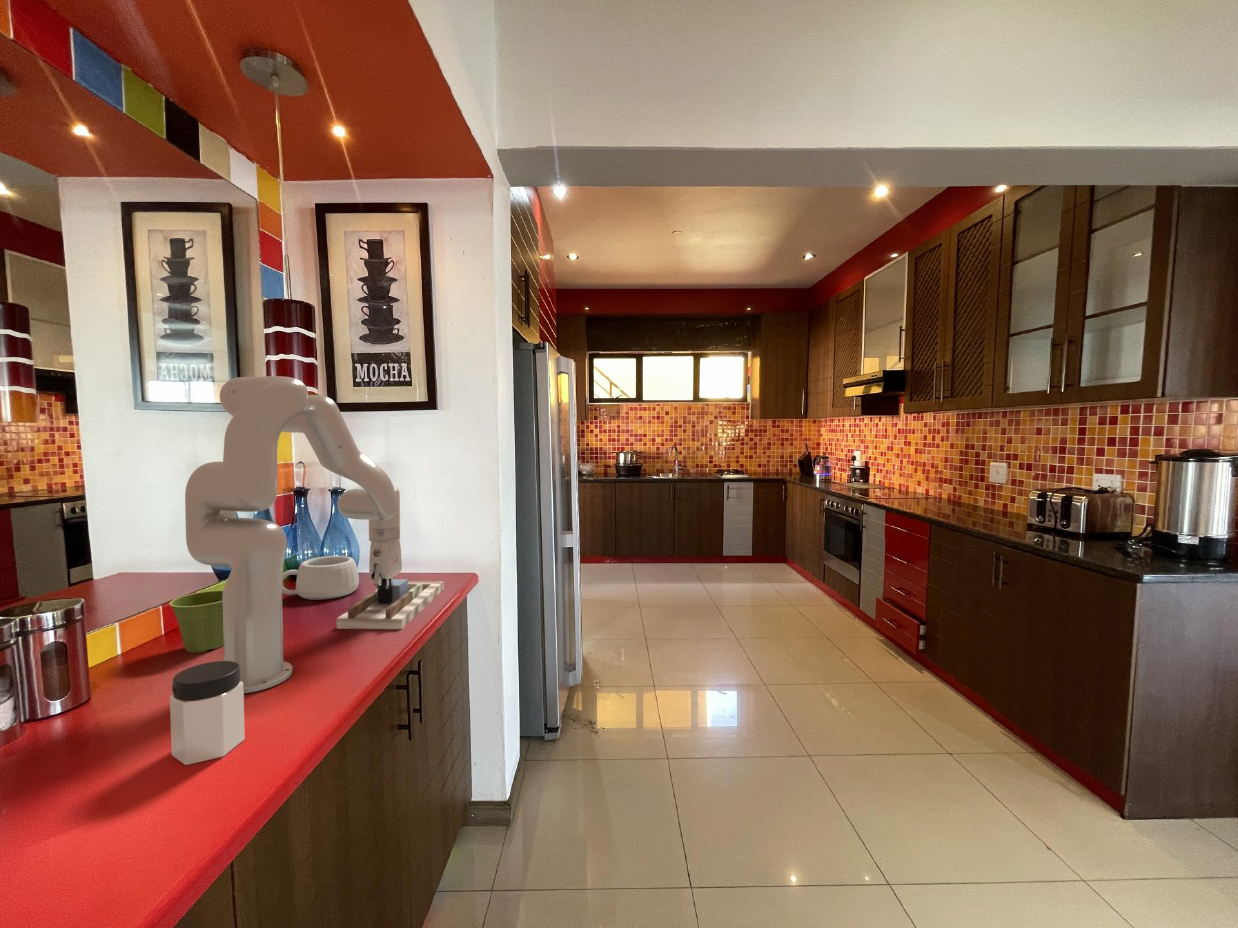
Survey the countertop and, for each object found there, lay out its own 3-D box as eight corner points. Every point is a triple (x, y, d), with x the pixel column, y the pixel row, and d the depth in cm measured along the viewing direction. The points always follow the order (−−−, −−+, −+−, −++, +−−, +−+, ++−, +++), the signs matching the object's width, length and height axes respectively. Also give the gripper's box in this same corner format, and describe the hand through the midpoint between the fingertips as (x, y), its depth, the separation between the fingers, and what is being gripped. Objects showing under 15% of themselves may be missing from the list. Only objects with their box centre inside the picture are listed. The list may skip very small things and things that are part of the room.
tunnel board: (401, 628, 132) (401, 609, 132) (336, 628, 132) (336, 608, 132) (443, 589, 166) (443, 573, 166) (392, 588, 166) (391, 573, 166)
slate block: (399, 603, 144) (399, 585, 144) (377, 603, 144) (377, 585, 144) (408, 596, 150) (408, 579, 150) (386, 596, 150) (386, 579, 150)
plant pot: (178, 642, 122) (177, 593, 122) (241, 633, 128) (240, 587, 127) (163, 661, 112) (161, 609, 111) (232, 652, 117) (231, 601, 117)
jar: (205, 731, 86) (203, 658, 86) (255, 732, 86) (253, 659, 86) (157, 765, 77) (154, 684, 77) (212, 766, 77) (210, 685, 77)
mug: (351, 582, 173) (351, 552, 172) (365, 595, 160) (365, 562, 159) (273, 594, 159) (272, 561, 158) (281, 609, 146) (280, 573, 146)
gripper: (387, 539, 133) (387, 612, 134) (409, 529, 148) (409, 594, 149) (356, 539, 133) (357, 611, 134) (382, 528, 148) (382, 594, 149)
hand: (385, 602), depth 141 cm, fingers closed
